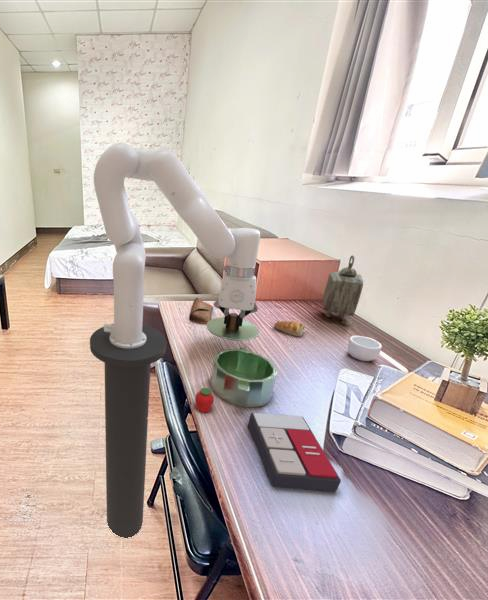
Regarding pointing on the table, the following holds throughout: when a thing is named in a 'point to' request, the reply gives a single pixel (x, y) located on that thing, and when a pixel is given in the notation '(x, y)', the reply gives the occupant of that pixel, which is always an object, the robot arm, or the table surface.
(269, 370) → the tin
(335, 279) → the tabletop clock
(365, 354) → the teacup
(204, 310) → the sunglasses case
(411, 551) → the table surface
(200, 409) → the strawberry
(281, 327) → the pastry
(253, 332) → the lid
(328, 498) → the table surface
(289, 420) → the calculator
